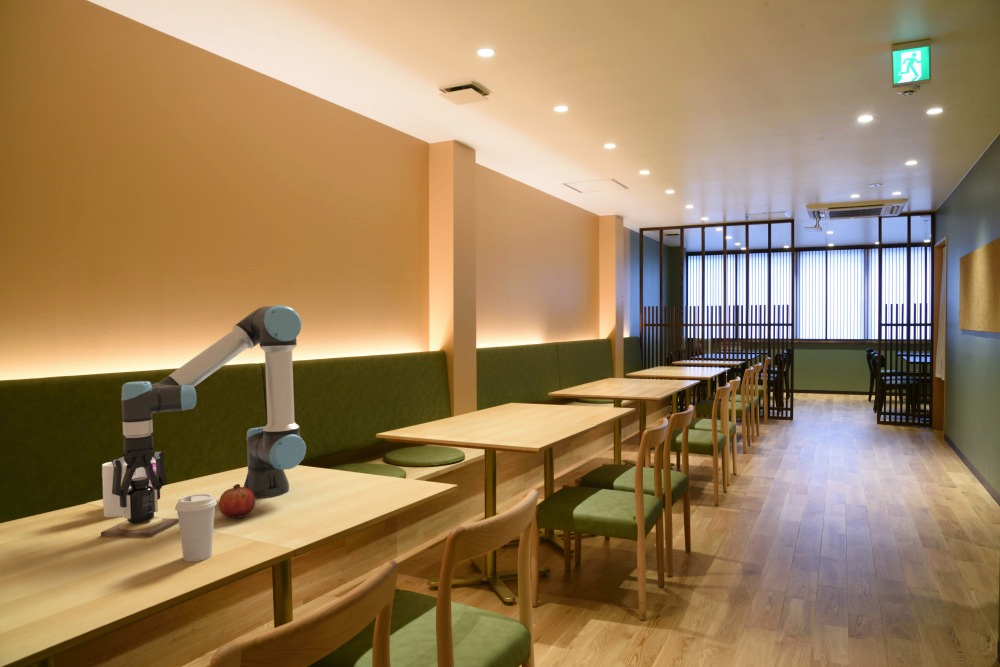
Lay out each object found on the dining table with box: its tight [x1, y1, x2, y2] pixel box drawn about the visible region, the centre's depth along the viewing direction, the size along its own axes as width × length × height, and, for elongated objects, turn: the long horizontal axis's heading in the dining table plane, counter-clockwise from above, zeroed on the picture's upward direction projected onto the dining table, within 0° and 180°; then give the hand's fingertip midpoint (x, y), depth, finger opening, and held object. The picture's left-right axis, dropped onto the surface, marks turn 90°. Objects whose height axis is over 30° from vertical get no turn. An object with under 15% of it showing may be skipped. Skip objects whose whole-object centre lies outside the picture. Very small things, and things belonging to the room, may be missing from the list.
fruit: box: [218, 483, 256, 519], centre depth 195 cm, size 11×10×10 cm
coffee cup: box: [174, 493, 218, 563], centre depth 162 cm, size 10×10×15 cm
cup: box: [101, 461, 133, 518], centre depth 202 cm, size 8×8×16 cm
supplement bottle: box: [126, 477, 155, 523], centre depth 186 cm, size 7×7×12 cm
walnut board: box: [100, 516, 179, 538], centre depth 186 cm, size 15×13×2 cm
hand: (141, 514), depth 186 cm, fingers closed on supplement bottle, 7 cm apart
